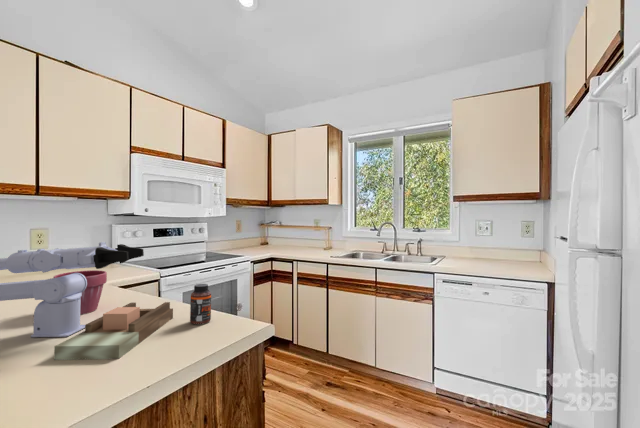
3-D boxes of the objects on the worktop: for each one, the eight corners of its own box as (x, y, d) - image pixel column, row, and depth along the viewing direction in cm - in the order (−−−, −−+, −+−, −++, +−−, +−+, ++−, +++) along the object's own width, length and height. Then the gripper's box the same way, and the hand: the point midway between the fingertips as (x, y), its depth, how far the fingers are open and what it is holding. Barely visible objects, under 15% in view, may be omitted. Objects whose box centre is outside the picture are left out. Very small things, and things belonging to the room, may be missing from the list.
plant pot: (77, 319, 94) (78, 278, 94) (40, 316, 96) (41, 276, 97) (116, 306, 108) (116, 270, 108) (82, 304, 110) (83, 269, 111)
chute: (54, 359, 67) (54, 337, 67) (127, 318, 95) (127, 302, 95) (119, 358, 68) (119, 336, 68) (172, 317, 96) (173, 302, 96)
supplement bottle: (203, 326, 89) (204, 287, 89) (185, 324, 90) (186, 286, 90) (214, 319, 95) (215, 283, 95) (197, 318, 96) (198, 282, 96)
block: (102, 329, 78) (103, 314, 78) (117, 321, 84) (117, 307, 84) (126, 329, 78) (127, 313, 78) (139, 321, 84) (139, 307, 84)
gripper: (64, 245, 77) (119, 241, 78) (102, 241, 92) (148, 238, 92) (65, 273, 77) (120, 269, 78) (103, 264, 92) (149, 261, 92)
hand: (135, 254), depth 85 cm, fingers open, 7 cm apart
